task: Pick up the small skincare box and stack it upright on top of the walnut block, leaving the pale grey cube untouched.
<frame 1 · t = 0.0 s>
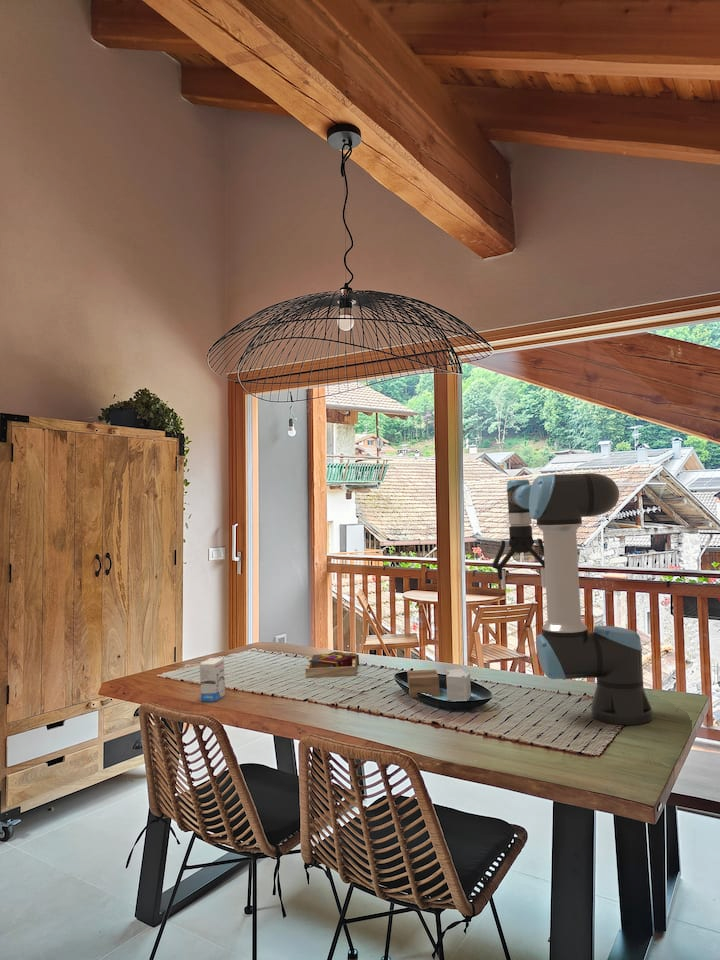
hand: (523, 588, 233), 28 cm above the table, fingers open, 13 cm apart
grey cube: (457, 687, 218), on the table
book frame: (332, 668, 249), on the table
decorative book: (334, 670, 249), resting in book frame
skincare box: (459, 699, 205), on the table
ink box: (213, 698, 218), on the table
walnut block: (423, 693, 214), on the table
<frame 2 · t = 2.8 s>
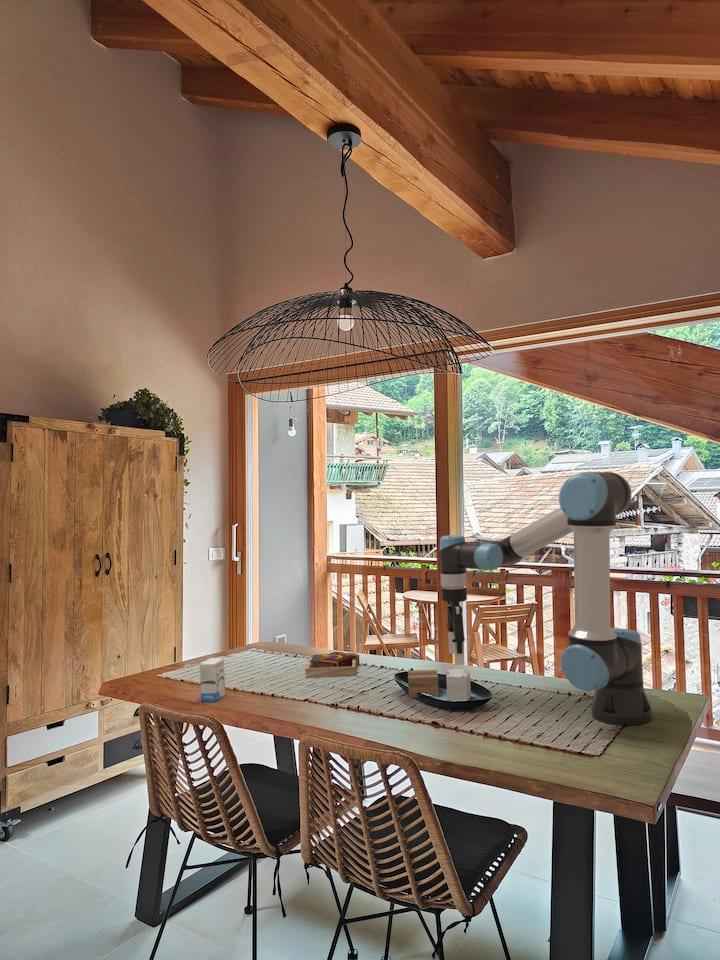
hand: (456, 658, 206), 12 cm above the table, fingers open, 13 cm apart
nothing on the table moved.
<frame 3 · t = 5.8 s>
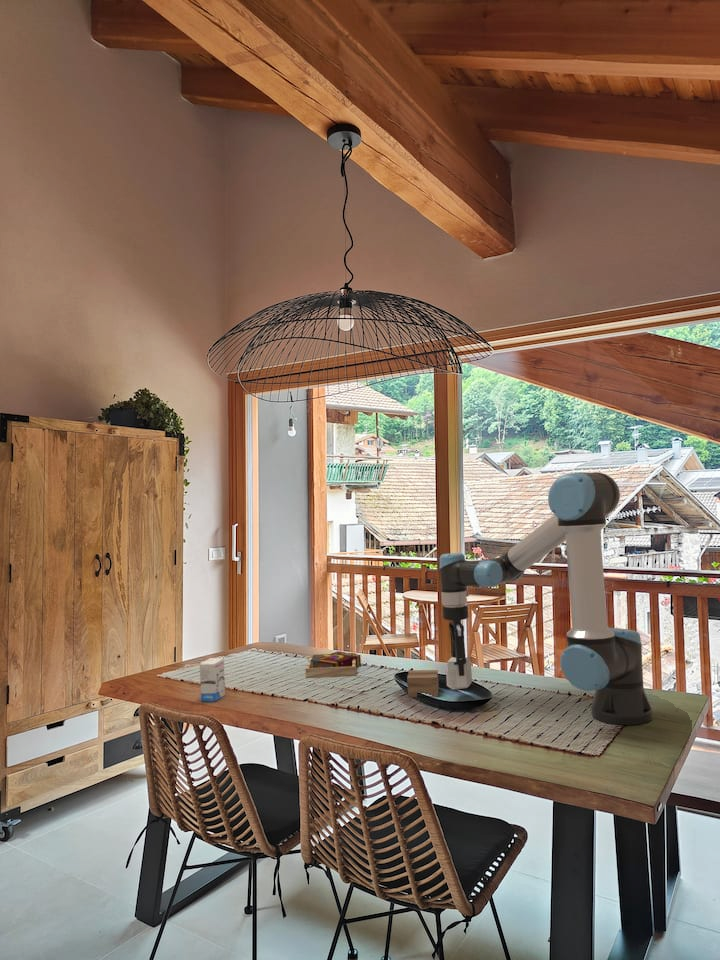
hand: (460, 682, 205), 5 cm above the table, fingers closed on skincare box, 7 cm apart
decorative book: (335, 670, 249), resting in book frame
skincare box: (460, 685, 205), point 4 cm above the table, touching gripper
everything else where it was.
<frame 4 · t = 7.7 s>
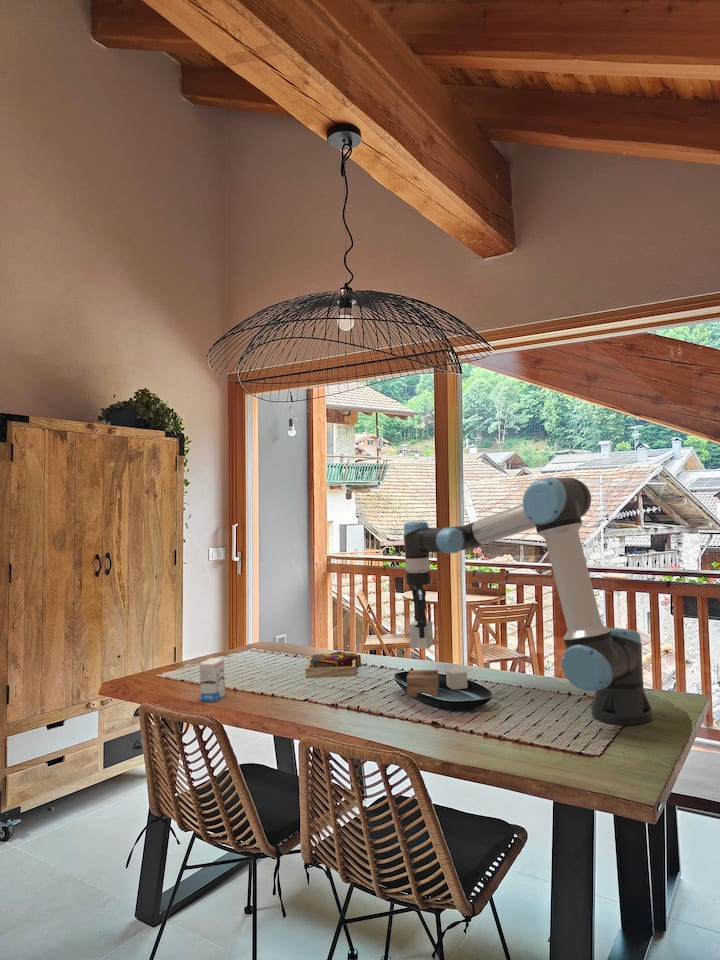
hand: (421, 645, 214), 14 cm above the table, fingers closed on skincare box, 7 cm apart
decorative book: (335, 670, 249), resting in book frame
skincare box: (421, 647, 214), point 14 cm above the table, touching gripper
everything else where it was.
when the fingers open (7 cm above the table, at t = 9.8 s): skincare box stays where it is, resting on walnut block.
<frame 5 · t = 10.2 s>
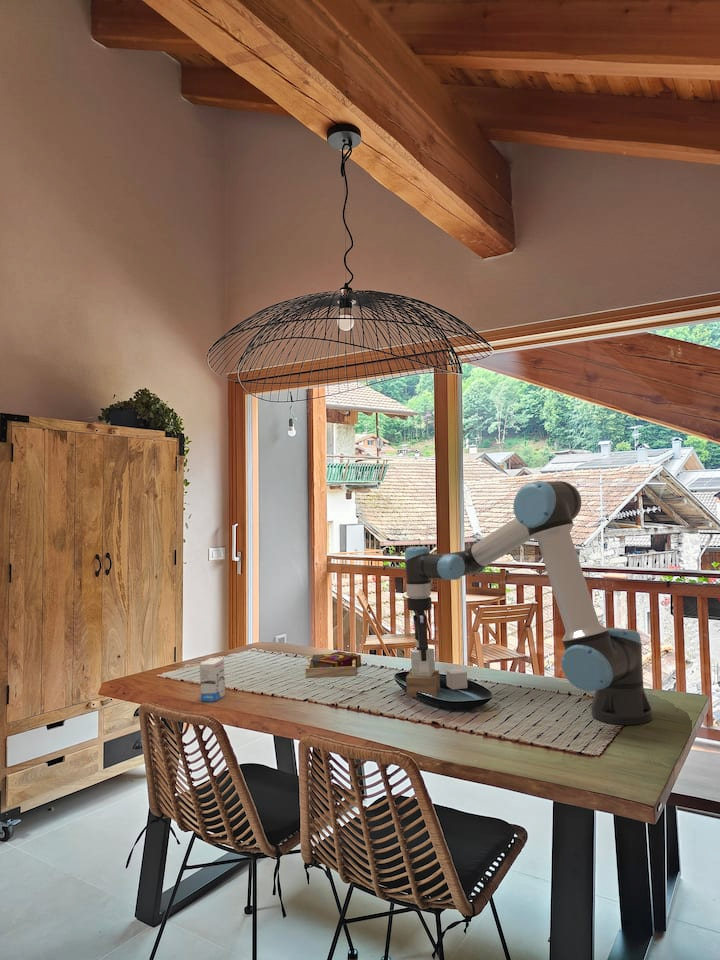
hand: (422, 666, 214), 8 cm above the table, fingers open, 13 cm apart
skincare box: (423, 674, 214), point 6 cm above the table, touching walnut block
walnut block: (423, 693, 214), on the table, touching skincare box
everything else where it was.
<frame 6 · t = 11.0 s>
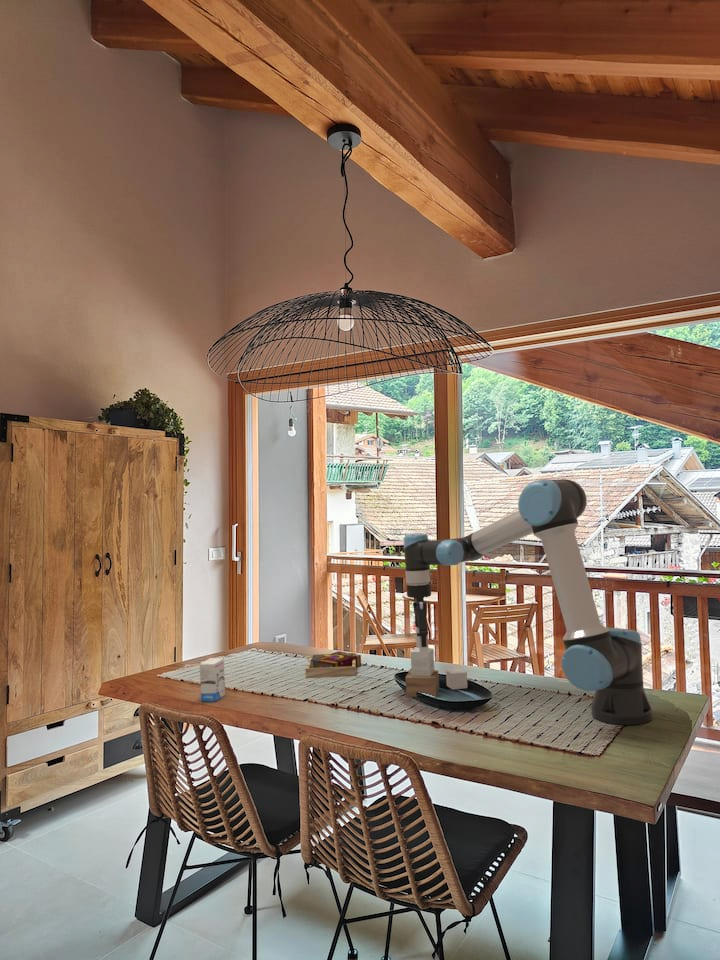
hand: (422, 652, 214), 12 cm above the table, fingers open, 13 cm apart
decorative book: (335, 670, 249), resting in book frame
everything else where it was.
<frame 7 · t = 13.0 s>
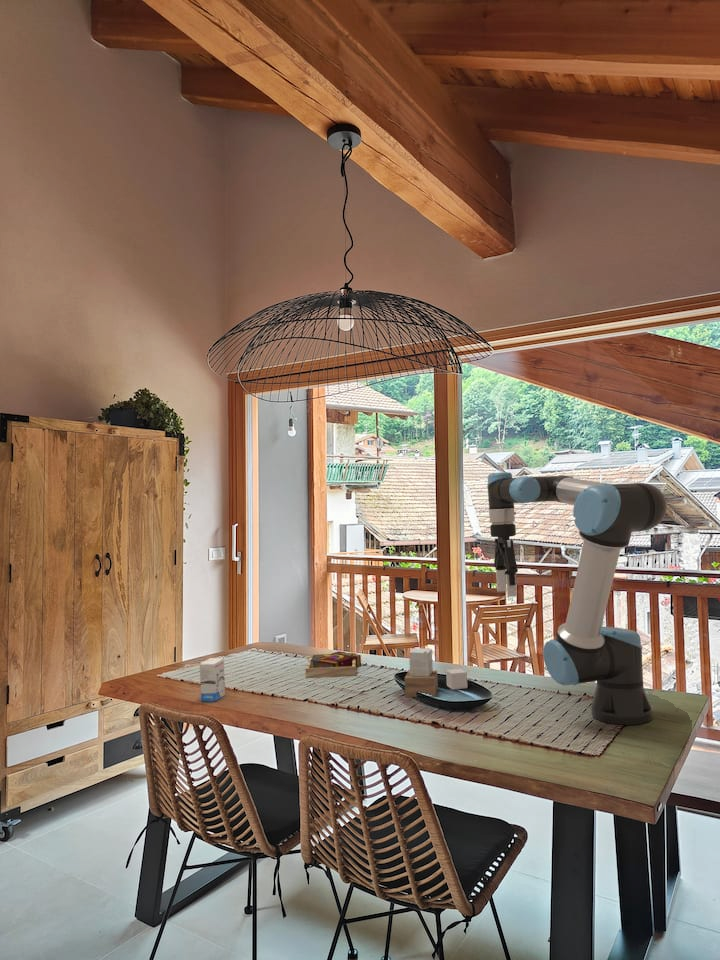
hand: (506, 593, 209), 30 cm above the table, fingers open, 13 cm apart
nothing on the table moved.
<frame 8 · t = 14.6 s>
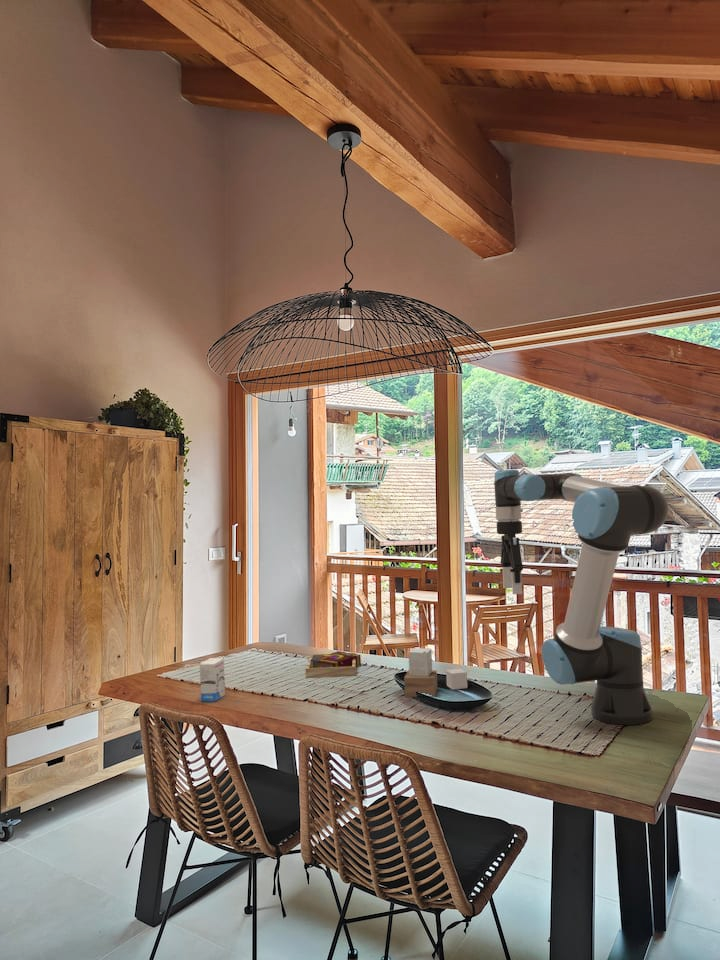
hand: (512, 591, 209), 31 cm above the table, fingers open, 13 cm apart
decorative book: (335, 670, 249), resting in book frame
everything else where it was.
at the end: skincare box inside the target area on the walnut block (0.1 cm from its centre), point 5.8 cm above the walnut block's base; skincare box tilted 0°; the gripper is holding nothing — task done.
